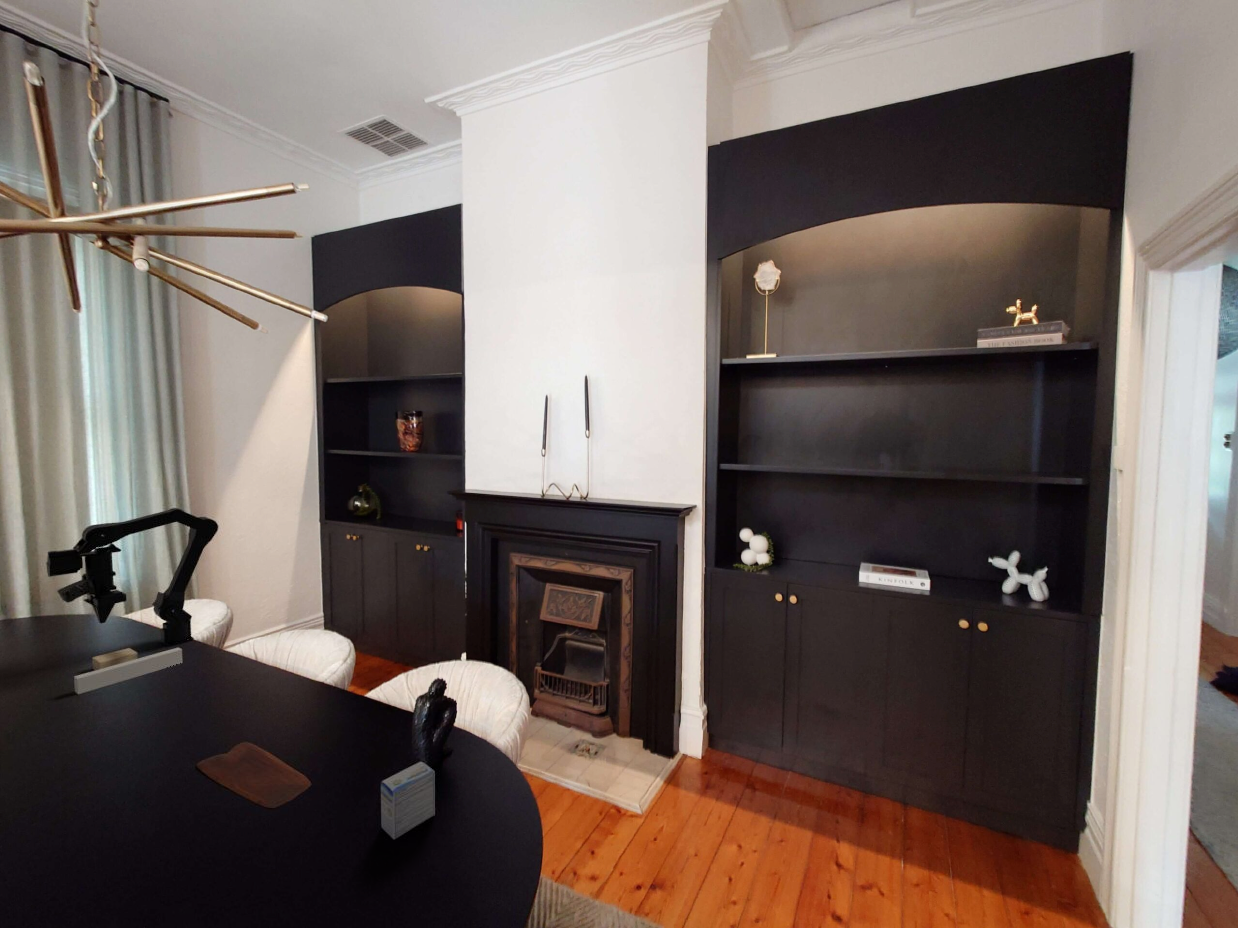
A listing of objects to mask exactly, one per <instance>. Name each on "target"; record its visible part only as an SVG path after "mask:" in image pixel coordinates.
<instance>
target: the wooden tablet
mask: <svg viewBox="0 0 1238 928" xmlns="http://www.w3.org/2000/svg"><path fill="white" fill-rule="evenodd" d="M196 767H197V769H199V770H200V771H201V773H203V774H205V775H206V776H207V777H209V778H210V779H211V780H213V781H214V782H216V783H218V784H220V785H221V786H222V787H225V788H227V789H229V790H230V791H232V792H234V793H235V794H238V795H240V796H242V797H244V799H248V800H249V801H251V802H253V803H255V804H258V805H260V806H262V807H265V808H268V809H269V808H270V809H276V808H278V807H280V806H282V805H284V804H286V803H288V802H291V801H292V800H294V799H295V798H296V797H297V796H298V795H301V794H302V793H304V792H305V791H307V789H308V788H310V787H311V786H312V783H311V781H310V780H309V779H308V777H307V776H305V775H304V774H303V773H300V771H297V770H296V769H295V768H293V767H291V766H290V765H288V764H286V763H285V762H284V761H282V760H281V759H279V758H278V757H276V756H275V755H273V754H271V753H270V752H268V751H266V750H265V749H263V748H261V747H259V746H258V745H255V744H254V743H252V742H248V741H242V742H241V743H239V744H236V745H235V746H233V747H232V748H231V749H230V750H229V751H228V752H227V753H221V754H217V755H216V754H215V755H211V756H210V757H208V758H204V759H203V760H201V761H199V762H198V763H197V764H196Z"/></svg>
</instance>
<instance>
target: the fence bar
mask: <svg viewBox="0 0 1238 928" xmlns="http://www.w3.org/2000/svg"><path fill="white" fill-rule="evenodd" d="M180 663H181V664H183V649H182V648H180V647H176V648H172V649H171V648H170V649H168V650H165V651H161V652H157V653H153V654H150V655H145V656H143V657H140V658H138V659H135V660H132V661H128V662H124V663H121V664H117V665H114V666H110V667H106V668H103V669H99V670H96V671H95V670H92V671H88V672H86V673H81V674H78V675H74V676H73V680H74V692H75V693H76V694H77V695H81V694H84V693H88V692H90V691H91V692H92V691H94V690H98V689H100V688H104V687H107V686H111V685H114V684H117V683H118V684H119V683H120V682H124V681H127V680H131V679H134V678H137V677H141V676H144V675H147V674H151V673H154V672H157V671H160V670H164V669H168V668H170V666H171V667H174V666H177V665H176V664H178V665H181V664H180ZM173 665H174V666H173ZM167 667H168V668H167Z"/></svg>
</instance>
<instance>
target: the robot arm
mask: <svg viewBox="0 0 1238 928" xmlns="http://www.w3.org/2000/svg"><path fill="white" fill-rule="evenodd" d="M174 523H179V524H181V525H183V526H186V527H188V529H189V530H188V535H187V536H188V541H187V545H186V547H185V550H184V552H183V554H182V557H181V558H180V561H179V563H178V566H177V567H176V569H175V572H174V575H173V577H172V579H171V581H170V583H169V586H168V587H167V588H166V589H165V591H164V592H160V591H158V592H157V594H156V598H155V600H154V601H153V602H152V604H151V605H152V606H153V612H154V614H155V615H156V616H157V617H158V618H160V619H161V620H163V621H165V622H162V628H161V629H160V643H162V644H163V645H167V646H168V647H170V646H174V645H178V644H182V643H186V642H189V640H190V641H193V640H194V638H195V637H193V636H192V624H191V623H192V622H191V621H192V617H193V615H191V614H190V613H189V612H187V611H186V610H185V609H184V606H185V600H186V599H185V597H186V590H187V588H188V586H189V583H190V582H191V579H192V577H193V575H194V574H193V573H194V572H195V570H196V567H197V565H198V563H199V560H200V558H201V555H202V554H203V552H204V549H205V548H206V546H208V544H209V543H210V542H211V541H212V540H213V539H214V537H215V535H216V534H217V532H218V530H219V525H218V523H217V521H216V520H214V519H212V518H209V517H206V516H199V517H198V516H196V515H193V514H191V513H188V512H186V511H184V509H181V508H177V507H172V508H169V509H167V510H164V511H160V512H155V513H152V514H148V515H144V516H141V517H136V518H132V519H129V520H125V521H119V522H106V523H98V524H91V525H89V526H87V527H86V528H84V530H83V531H82V533H81V538H80V540H78V542H76V544H75V545H74V546H73V547H72V548H71V549H64V550H50V551H49V550H48V552H47V557H46V559H47V560H46V563H45V564H46V566H45V567H46V573H47V577H48V578H51V577H57V576H64V575H72V574H78V572H79V571H81V569H84V568H83V566H84V567H85V569H84V571H85V573H82V575H81V580H78V581H76V582H72V583H70V584H68V585H66V586H64V587H61V588H59V589H58V590H57V591H56V592H57V593H58V595H59V597H60V598H61V599H62V601H63V602H65V603H67V604H68V603H72V602H73V601H75V600H77V599H78V598H80V597H83V596H84V595H86V598H85V599H83V602H85V603H87V604H88V605H91V606H92V608H93V611H94V613H95V616H96V617H97V621H98V622H99V623H100V624H106V622H107V619H108V618H109V616H110V614H111V613H112V610H113V609H114V608H115V605H116V604H119V603H124V602H126V601H127V593H124V592H123V591H121V590H119V589H117V588H118V587H117V585H115V584H114V577H115V576H117V574H116V571H114V567H113V553H119V552H122V549H121V548H119V547H117V546H116V545H115V544H114V543H117V541H120V540H122V539H124V538H126V537H127V536H129V535H133V534H137V533H141V532H144V531H149V530H152V529H156V528H158V527H163V526H166V525H170V524H174ZM83 557H84V561H83ZM83 562H84V563H83ZM187 639H189V640H187ZM185 641H186V642H185Z"/></svg>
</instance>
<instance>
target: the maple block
mask: <svg viewBox="0 0 1238 928" xmlns="http://www.w3.org/2000/svg"><path fill="white" fill-rule="evenodd" d="M135 659H139V658H138V652H137V651H136V650H133V649H132V648H131V647H128V648H124V649H120V650H116V651H111V652H110V653H109V652H108V653H104V654H100V655H96V656H93V657H92V669H93V671H96V670H99V669H103V668H106V667H110V666H114V665H117V664H121V663H124V662H128V661H132V660H135Z"/></svg>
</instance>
